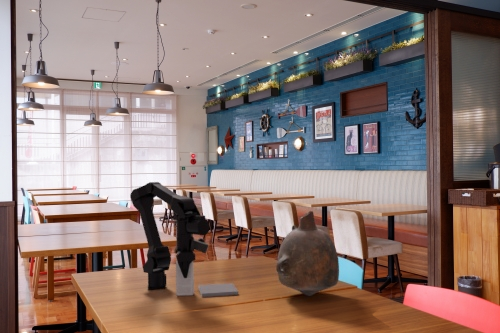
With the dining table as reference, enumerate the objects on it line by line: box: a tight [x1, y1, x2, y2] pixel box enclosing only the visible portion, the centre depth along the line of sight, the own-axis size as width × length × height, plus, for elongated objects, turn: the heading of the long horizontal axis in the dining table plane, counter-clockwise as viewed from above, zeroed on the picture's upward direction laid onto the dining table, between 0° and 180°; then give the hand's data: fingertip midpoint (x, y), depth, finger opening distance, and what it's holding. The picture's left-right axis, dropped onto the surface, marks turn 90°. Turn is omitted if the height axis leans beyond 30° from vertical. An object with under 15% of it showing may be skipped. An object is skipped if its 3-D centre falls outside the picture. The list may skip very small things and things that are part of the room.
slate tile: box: [198, 282, 239, 298], centre depth 181 cm, size 13×13×1 cm
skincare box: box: [175, 261, 195, 296], centre depth 177 cm, size 6×4×12 cm
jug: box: [275, 210, 340, 297], centre depth 173 cm, size 24×21×30 cm
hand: (184, 276), depth 177 cm, fingers closed on skincare box, 4 cm apart
